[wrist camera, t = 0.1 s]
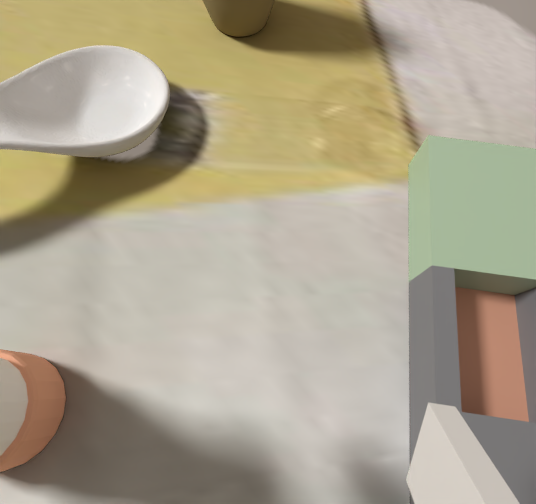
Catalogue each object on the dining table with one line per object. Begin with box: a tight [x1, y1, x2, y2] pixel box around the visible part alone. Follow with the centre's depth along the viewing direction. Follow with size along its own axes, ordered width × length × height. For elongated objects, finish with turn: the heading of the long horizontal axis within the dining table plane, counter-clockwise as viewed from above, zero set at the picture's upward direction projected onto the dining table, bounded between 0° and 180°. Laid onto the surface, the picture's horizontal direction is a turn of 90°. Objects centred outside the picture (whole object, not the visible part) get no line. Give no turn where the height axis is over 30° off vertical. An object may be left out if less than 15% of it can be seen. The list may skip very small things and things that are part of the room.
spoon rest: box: [0, 45, 170, 157], centre depth 28 cm, size 24×12×7 cm, turn 133°
